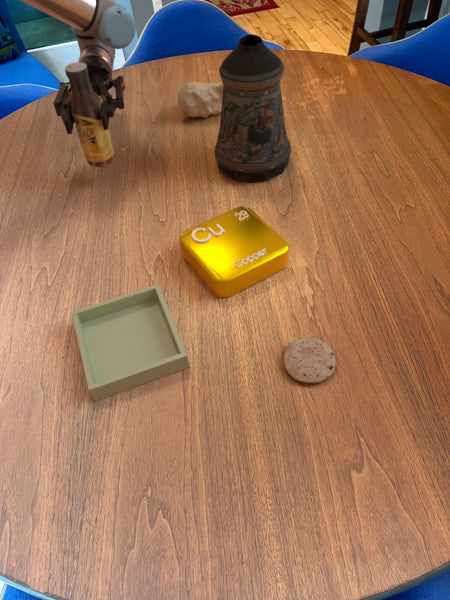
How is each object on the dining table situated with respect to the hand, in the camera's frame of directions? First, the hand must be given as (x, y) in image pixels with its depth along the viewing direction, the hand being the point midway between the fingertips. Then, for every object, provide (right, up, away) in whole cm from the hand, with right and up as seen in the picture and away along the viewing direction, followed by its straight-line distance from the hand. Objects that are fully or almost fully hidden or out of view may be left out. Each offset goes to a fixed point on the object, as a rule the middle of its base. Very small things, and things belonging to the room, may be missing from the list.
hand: (85, 125), depth 90 cm
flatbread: (+39, -42, -19) cm, 60 cm away
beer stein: (+32, -2, +17) cm, 36 cm away
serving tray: (+11, -40, -15) cm, 44 cm away
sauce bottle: (0, -4, +12) cm, 12 cm away
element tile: (+28, -26, -4) cm, 38 cm away
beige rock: (+23, +15, +32) cm, 42 cm away
